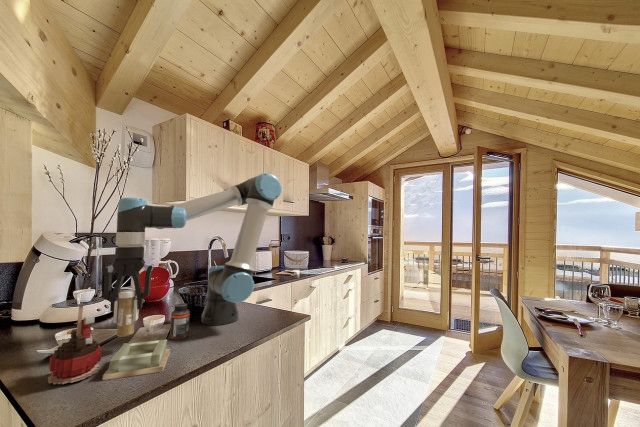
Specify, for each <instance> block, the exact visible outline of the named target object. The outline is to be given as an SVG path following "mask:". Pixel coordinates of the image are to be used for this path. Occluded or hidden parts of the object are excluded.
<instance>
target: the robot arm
mask: <svg viewBox="0 0 640 427" xmlns="http://www.w3.org/2000/svg"><path fill="white" fill-rule="evenodd" d="M281 194H282V183H281V182H280V179H279V178H278V177H277V176H276V175H275V174H272V173H269V172H268V173H267V172H266V173H265V172H264V173H260V174H258V175H257V176H256V175H255V176H254V177H251V178H249V179H247V180H245V181H243V182H241V183H239V184H235V185H232V186H231V188H230V189H226V190H225V189H224V190H222V191H218V192H215V193H212V194H208V195H205V196H204V195H203V196H201V197H198V198H194V199H191V200H186V201H183V202H180V203H176V204H173V205H170V206H162V205H161V206H159V205H150V204H148V203H147V200H146V199H145V198H137V197H122V198H121V199H119V200H118V206H117V213H116V214H117V215H116V216H117V218H116V236H115V246H117V247H115V248H114V249H115V250H114V262H112V264H110V265H108V266H104V267H102V269H101V271H102V273H103V292H102V293H103V297H102V299H103V300H104V301H105V300H106V301H110V309H109V310H110V312H111V313H113V321H112V322H113V324H117V320H118V308H119V298H118V296H119V292H120V291H121V289H122V286H123V282H124V280H125V277H127V276H131V278H132V280H133V286H134V290H135V291H136V298H135V300H134V311H133V321H134V322H136V321H138V319H139V310H141V309H142V308H143V303H144V298H146V297H149V295H150V294H151V284H152V271H153V270H154V268H155V266H154V265H153V264H148V263H146V261H145V259H144V258H145V247H144V245H145V243H146V242H145V241H146V240H145V238H146V228H147V229H148V228H149V229H152V228H153V229H157V230H162V229H182V228H185V226H186V223H187V222H188V221H190V220H194V219H196V218H200V217H203V216H206V215H209V214H212V213H215V212H218V211H222V210H224V209H228V208H230V207H235V206H238V207H241V206H244V205H247V207H246V210H245V214H244V216H243V219H242V223H241V226H240V230H239V232H238V235H237V239H236V242H235V245H234V248H233V250H232V255H231V257H230V260H228V261H227V262H225V263H224V265H216V266H215V265H213V266H210V267H209V269H208V272H207V292H206V293H207V294H206V304H205V306H204V309H203V311H202V313H201V319H200V320H201V323H202V324H204V325H210V326H220V325H228V324H231V323H234V322H236V321H238V320H239V316H240V312H239V308H238V305H237V304H238V303H242V302H244V301H246V300H247V299H249V297H251V295H252V293H253V292H254V289H255V282H254V279H253V275H254V272H255V269H254V267H253V261H254V258H255V254H256V252H257V248H258V244H259V241H260V238H261V235H262V232H263V231H262V230H263V228H264V223H265V221H266V217H267V214H268V211H270V210H271V209H273V206H274V204H275V200H277V199H278V198H279V197H280V196H281ZM143 268H144V271H145V273H144V274H145V275H144V286H143V287H142V282H141V278H140V276H141V275H140V272H141V271H142V269H143ZM114 270H115V272H116V273H117V276H116V281H115V284H114V287H113V290H112V283H113V282H112V280H113V277H112V276H113V274H112V273H113V272H114ZM143 289H144V290H143Z"/></svg>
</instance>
